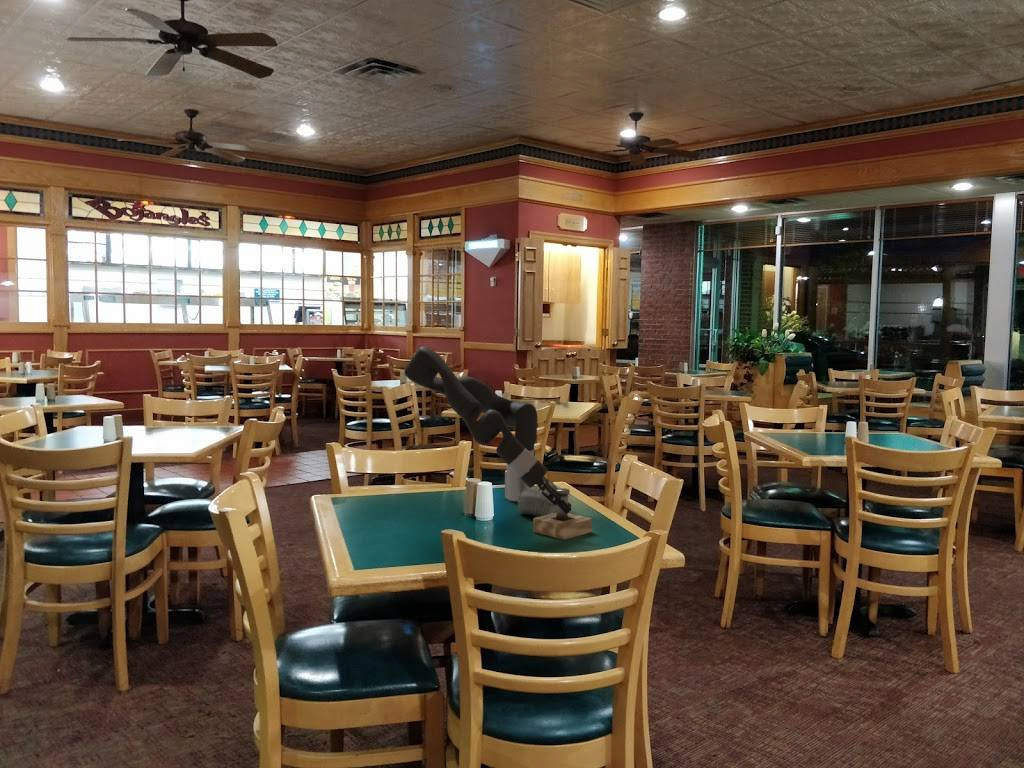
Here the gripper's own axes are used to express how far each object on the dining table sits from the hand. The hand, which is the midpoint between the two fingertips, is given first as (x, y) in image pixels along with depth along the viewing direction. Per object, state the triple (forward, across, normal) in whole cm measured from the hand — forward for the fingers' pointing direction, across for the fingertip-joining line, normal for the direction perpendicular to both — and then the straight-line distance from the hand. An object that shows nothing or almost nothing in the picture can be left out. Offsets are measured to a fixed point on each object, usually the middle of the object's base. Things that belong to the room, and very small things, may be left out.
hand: (569, 509), depth 238 cm
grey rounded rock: (-2, -18, -12) cm, 22 cm away
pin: (+1, 0, -4) cm, 5 cm away
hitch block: (+3, 0, -6) cm, 7 cm away
